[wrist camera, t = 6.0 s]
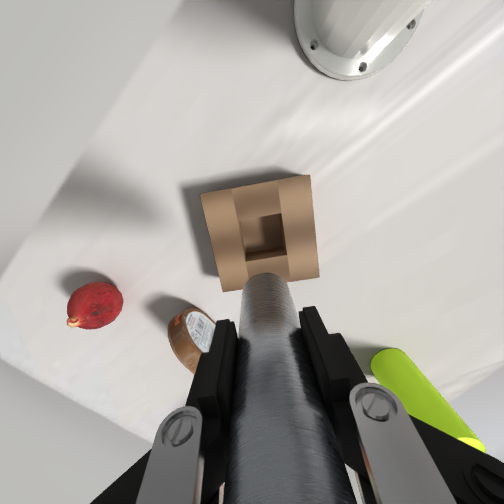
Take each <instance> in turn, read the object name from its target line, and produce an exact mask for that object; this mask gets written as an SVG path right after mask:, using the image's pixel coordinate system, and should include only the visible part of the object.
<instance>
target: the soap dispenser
mask: <svg viewBox="0 0 504 504" xmlns="http://www.w3.org/2000/svg"><path fill="white" fill-rule="evenodd" d="M370 367H371V370H372V372H373V374H374V375H375V377H376V379H377V380H378V382H379V384H380V385H382V386H384V387H386V388H388V389H390V390H391V391H392V392H393V393H394V394H396V395H397V397H398V398H399V399H400V401H401V402H402V404H403V406H404V408H405V410H406V411H407V413H408V414H409V415H411V416H413V417H415V418H417V419H419V420H421V421H423V422H425V423H427V424H429V425H431V426H433V427H435V428H437V429H439V430H441V431H443V432H445V433H447V434H449V435H451V436H453V437H455V438H457V439H459V440H461V441H463V442H465V443H467V444H468V445H470V446H472V447H474V448H476V449H478V450H480V451H482V452H484V453H486V449H485V446H484V445H483V444H482V442H481V441H480V440H479V439H478V438H477V436H476V435H475V434H474V433H473V432H472V431H471V429H470V428H469V427H468V426H467V425H466V424H465V423H464V421H463V420H462V419H461V418H460V417H459V415H458V414H457V413H456V412H455V411H454V410H453V408H452V407H451V406H450V405H449V404H448V403H447V401H446V400H445V399H444V398H443V397H442V396H441V394H440V393H439V392H438V391H437V390H436V389H435V387H434V386H433V385H432V384H431V383H430V382H429V380H428V379H427V378H426V377H425V376H424V375H423V373H422V372H421V371H420V370H419V369H418V368H417V366H416V365H415V364H414V363H413V362H412V361H411V359H410V358H409V357H408V356H407V355H406V354H405V353H404V352H403V351H402V350H399V349H396V348H389V349H385V350H382V351H380V352H379V353H377V354H376V355H375V356H374V357H373V359H372V361H371V365H370Z"/></svg>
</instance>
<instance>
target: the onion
mask: <svg viewBox="0 0 504 504" xmlns="http://www.w3.org/2000/svg"><path fill="white" fill-rule="evenodd" d="M122 306H123V297H122V294H121V292H120V291H119V290H118V289H117V288H116V287H114V286H112V285H110V284H107V283H102V282H94V283H89V284H86V285H84V286H82V287H81V288H79V289H77V290H76V291H75V292H74V293H73V294H72V296H71V298H70V300H69V302H68V305H67V314H68V317H69V318H68V319H67V325H68V326H70V327H71V328H72V327H79V328H83V329H98V328H101V327H103V326H105V325H108V324H110V323H111V322H113V321H114V320H115V319H116V317H117V316H118V315H119V313H120V312H121V310H122Z"/></svg>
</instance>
